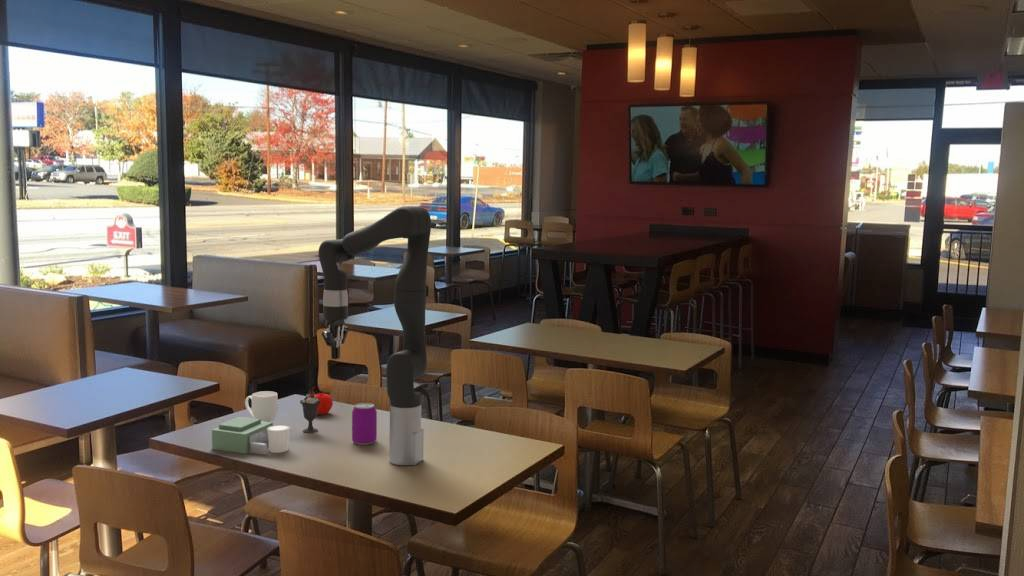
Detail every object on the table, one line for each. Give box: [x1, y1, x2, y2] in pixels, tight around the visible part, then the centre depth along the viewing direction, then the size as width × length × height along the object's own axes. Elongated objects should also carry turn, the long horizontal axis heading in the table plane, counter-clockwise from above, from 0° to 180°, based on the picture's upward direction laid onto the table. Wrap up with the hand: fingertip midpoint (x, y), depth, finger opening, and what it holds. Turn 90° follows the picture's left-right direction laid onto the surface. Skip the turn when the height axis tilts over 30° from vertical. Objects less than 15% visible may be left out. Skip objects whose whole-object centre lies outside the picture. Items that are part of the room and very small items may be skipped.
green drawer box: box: [211, 416, 274, 454], centre depth 258 cm, size 12×14×7 cm
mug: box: [244, 390, 279, 423], centre depth 278 cm, size 12×8×11 cm
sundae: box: [299, 387, 321, 434], centre depth 274 cm, size 7×7×15 cm
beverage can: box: [351, 402, 378, 446], centre depth 264 cm, size 8×8×12 cm
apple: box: [315, 393, 334, 415], centre depth 296 cm, size 8×8×7 cm
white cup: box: [267, 424, 291, 454], centre depth 254 cm, size 7×7×7 cm
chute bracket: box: [248, 428, 269, 456], centre depth 255 cm, size 6×11×5 cm, turn 162°
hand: (335, 358), depth 260 cm, fingers closed
